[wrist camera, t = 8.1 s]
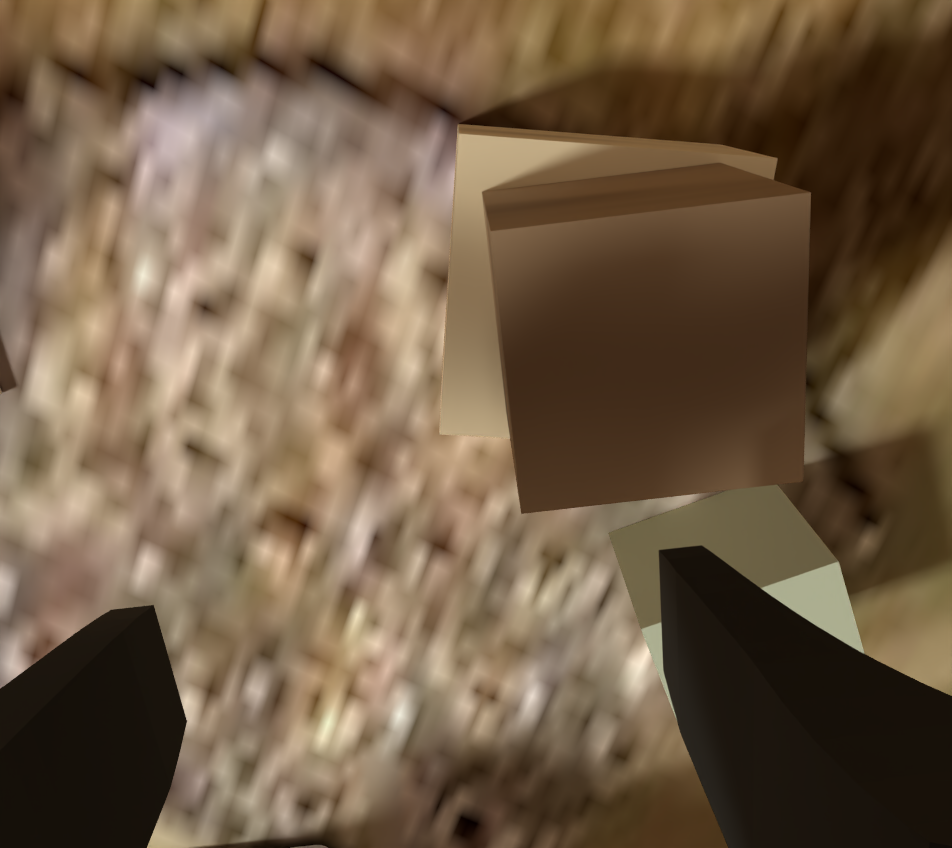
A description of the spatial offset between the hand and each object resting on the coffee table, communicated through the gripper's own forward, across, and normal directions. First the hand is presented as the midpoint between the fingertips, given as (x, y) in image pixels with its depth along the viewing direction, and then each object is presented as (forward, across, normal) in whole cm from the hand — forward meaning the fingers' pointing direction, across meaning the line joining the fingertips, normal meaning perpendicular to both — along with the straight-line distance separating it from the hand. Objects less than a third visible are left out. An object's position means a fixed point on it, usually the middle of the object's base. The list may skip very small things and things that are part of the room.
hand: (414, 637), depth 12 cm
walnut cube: (+6, -4, -3) cm, 8 cm away
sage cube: (+10, -7, +6) cm, 14 cm away
